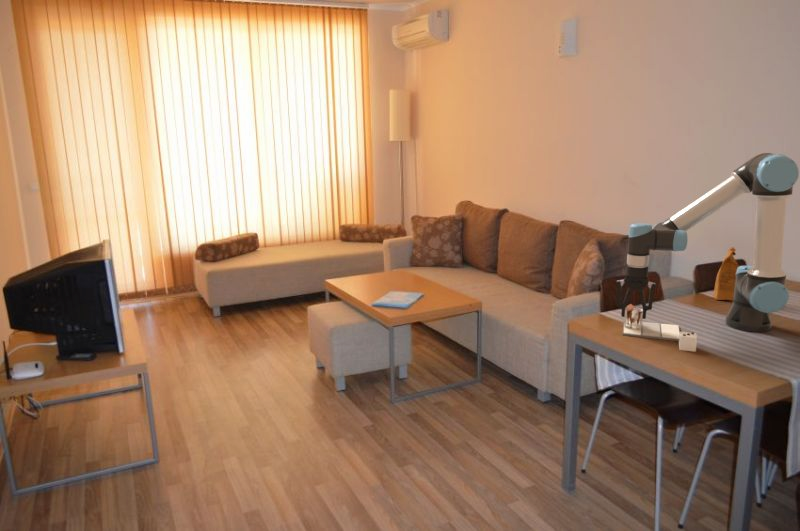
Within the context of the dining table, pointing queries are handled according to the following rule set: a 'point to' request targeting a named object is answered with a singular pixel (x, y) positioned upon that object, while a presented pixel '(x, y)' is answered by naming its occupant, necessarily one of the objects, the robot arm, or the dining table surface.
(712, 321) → the dining table surface
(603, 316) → the dining table surface
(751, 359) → the dining table surface
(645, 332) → the game board
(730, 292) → the coffee package
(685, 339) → the white block with holes
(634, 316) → the bull figurine
